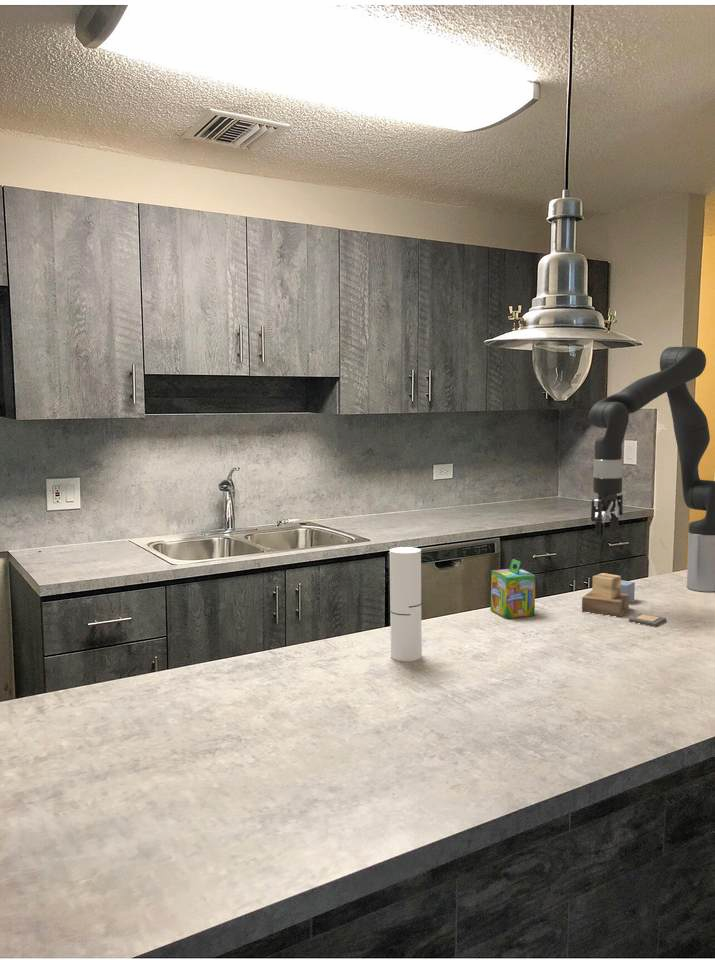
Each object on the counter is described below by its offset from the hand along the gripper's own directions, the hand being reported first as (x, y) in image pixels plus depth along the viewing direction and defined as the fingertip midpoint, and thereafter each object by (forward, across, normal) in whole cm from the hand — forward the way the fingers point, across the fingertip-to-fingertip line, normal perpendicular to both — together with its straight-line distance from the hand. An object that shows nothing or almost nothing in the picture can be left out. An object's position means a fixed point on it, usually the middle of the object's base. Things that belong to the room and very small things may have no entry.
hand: (606, 534), depth 210 cm
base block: (+22, 0, 0) cm, 22 cm away
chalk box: (+21, +19, -18) cm, 34 cm away
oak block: (+17, 0, 0) cm, 17 cm away
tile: (+21, +3, +13) cm, 25 cm away
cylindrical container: (+21, +65, -18) cm, 71 cm away
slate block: (+22, -12, -1) cm, 25 cm away
